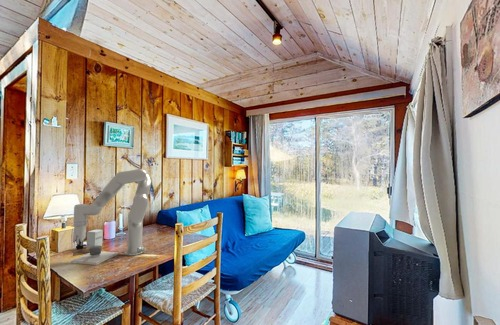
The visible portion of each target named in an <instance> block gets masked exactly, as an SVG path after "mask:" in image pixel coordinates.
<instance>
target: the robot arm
mask: <svg viewBox="0 0 500 325" xmlns="http://www.w3.org/2000/svg"><path fill="white" fill-rule="evenodd" d="M151 182H152V181H151V178H150V175H149V174H148V172H147V171H146V170H145V169H143V168H137V169H131V170H126V171H125V170H123V171H118V172H117V173H116V174H115V175H114V176H113V177H112V178H111V180H109V182H108V183H107V184H106V185H105V187H104V188H103V189H102V190H101V192H100V193H99V194H98V196H97V197H96V198H95V199H94V201H93V202H91V204H88V203H77V204H75V205H74V207H73V223H72V224H73V228H74V229H73V234H72V243H75V242H76V243H75V245H76V249H75V250H79V249H84V240H85V239H87V226H88V225H89V224H88V221H89V220H88V218H89V217H88V216H97V215H99V214H100V213H101V211H102V210H103V209H104V207H105V206H106V205H107V204H108V202H110V200H111V199H112V198H114V197H116V195H117V194H118V193H119V192H120V191H121V189H122V188H123V187H124V186H125V184H133V183H137V187H136V191H135V193H134V197H133V198H132V204H131V205H132V206H131V207H130V209H129V211H128V214H127V243H126V250H125V251H124V255H126V256H137V255H141V254H143V253H144V252H146V251H147V247H144V244H143V230H144V229H143V227H144V226H143V222H144V218H145V215H146V212H147V208H148V206H149V193H150V189H151V185H152V184H151Z"/></svg>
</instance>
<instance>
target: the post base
mask: <svg viewBox="0 0 500 325" xmlns="http://www.w3.org/2000/svg"><path fill="white" fill-rule="evenodd" d="M117 255H118V252H116V251H105V250H103V251H102V250H101V253H100V254H98V255H90V253H87V254H82V255H80V256H79V257H76V258H74V259H71V260H70V261H71V262H70V263H71V264H81V265H82V264H83V265H93V266H97V265H99V264H101V263H103V262H106V261H108V260H109V259H112V258H113V257H116V256H117Z"/></svg>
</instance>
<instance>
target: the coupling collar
mask: <svg viewBox="0 0 500 325" xmlns="http://www.w3.org/2000/svg"><path fill="white" fill-rule="evenodd" d="M101 251H102V246H92V247H90V248H83V249H79V250H76V249H75V250H74V249H73V251H72V256H73V257H75V256H83V255H84V254H88V253H90V255H98V254H100V253H101Z"/></svg>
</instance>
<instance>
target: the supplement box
mask: <svg viewBox="0 0 500 325" xmlns="http://www.w3.org/2000/svg"><path fill="white" fill-rule="evenodd" d="M103 232H104V230H103V229H93V230H92V229H91V230H88V231H86V248H90V247H92V246H101V247H102V246H103V238H104V236H103V235H104V233H103Z"/></svg>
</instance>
